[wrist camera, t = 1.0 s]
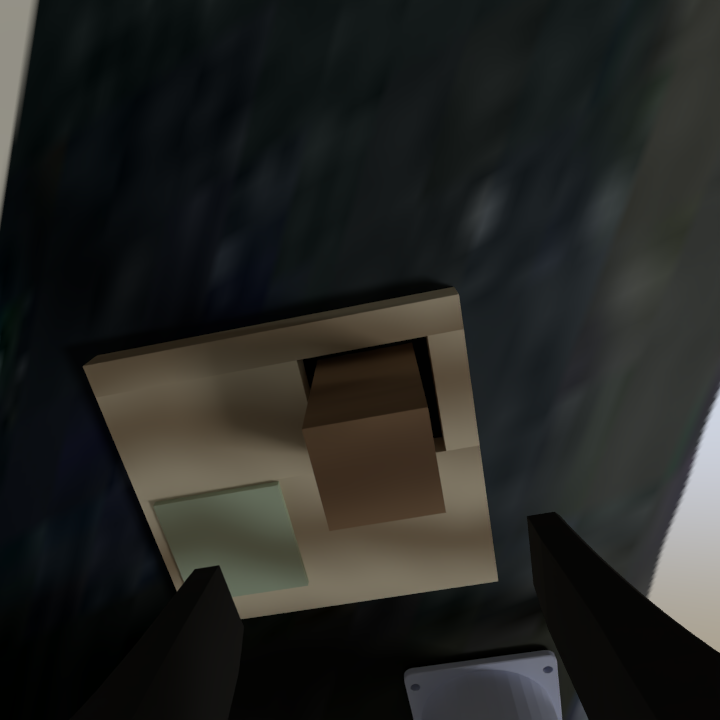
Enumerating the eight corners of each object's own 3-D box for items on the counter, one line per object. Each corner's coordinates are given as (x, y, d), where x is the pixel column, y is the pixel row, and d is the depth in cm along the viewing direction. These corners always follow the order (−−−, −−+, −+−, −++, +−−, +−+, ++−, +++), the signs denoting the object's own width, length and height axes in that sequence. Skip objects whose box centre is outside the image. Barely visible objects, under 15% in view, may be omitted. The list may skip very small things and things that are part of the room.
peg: (426, 426, 23) (446, 512, 18) (337, 441, 24) (329, 531, 18) (411, 342, 22) (427, 407, 16) (317, 360, 22) (301, 429, 17)
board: (492, 562, 26) (499, 586, 25) (198, 606, 27) (189, 631, 26) (453, 286, 21) (460, 296, 20) (96, 355, 22) (78, 368, 21)
